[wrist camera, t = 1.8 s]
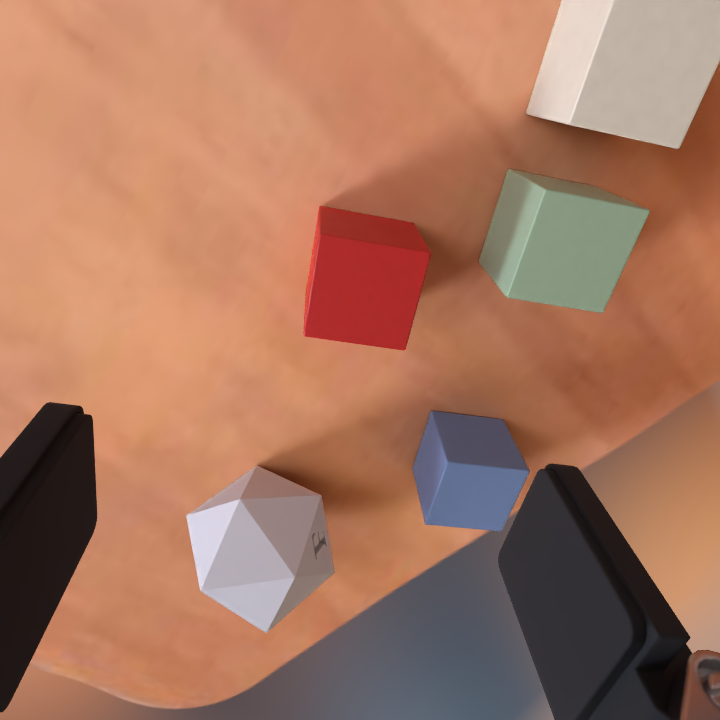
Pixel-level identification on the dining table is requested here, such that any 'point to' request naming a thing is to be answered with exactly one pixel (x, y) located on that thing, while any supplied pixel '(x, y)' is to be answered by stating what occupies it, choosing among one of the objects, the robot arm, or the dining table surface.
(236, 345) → the dining table surface
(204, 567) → the die
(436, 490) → the blue block
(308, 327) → the red block
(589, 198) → the sage block
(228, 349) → the dining table surface
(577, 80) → the cream block
